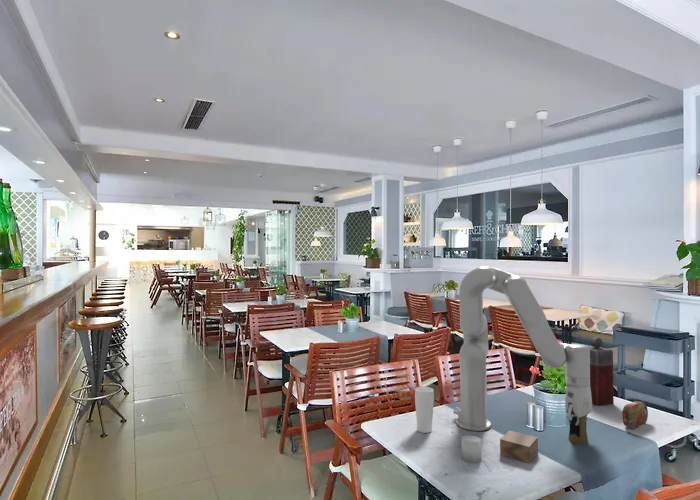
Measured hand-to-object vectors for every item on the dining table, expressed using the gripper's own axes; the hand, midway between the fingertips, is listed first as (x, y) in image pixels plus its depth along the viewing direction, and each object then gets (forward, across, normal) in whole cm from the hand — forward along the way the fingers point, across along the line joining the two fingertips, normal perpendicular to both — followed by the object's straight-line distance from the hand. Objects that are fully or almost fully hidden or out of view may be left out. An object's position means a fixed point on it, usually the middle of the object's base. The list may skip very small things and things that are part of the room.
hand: (578, 433), depth 149 cm
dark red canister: (+2, +48, +16) cm, 51 cm away
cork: (+2, 0, 0) cm, 2 cm away
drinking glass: (+2, -37, +37) cm, 52 cm away
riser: (+2, -26, +6) cm, 27 cm away
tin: (+3, +31, -6) cm, 32 cm away
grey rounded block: (+2, -41, +13) cm, 43 cm away
